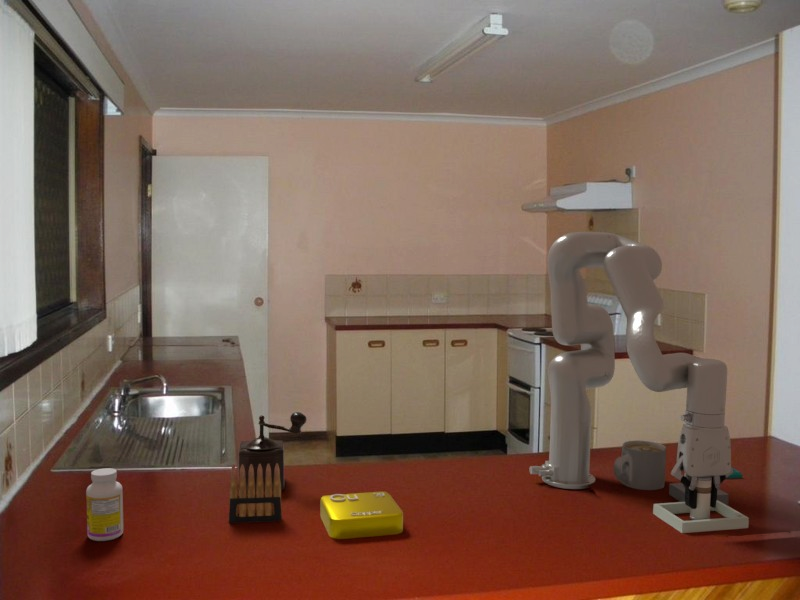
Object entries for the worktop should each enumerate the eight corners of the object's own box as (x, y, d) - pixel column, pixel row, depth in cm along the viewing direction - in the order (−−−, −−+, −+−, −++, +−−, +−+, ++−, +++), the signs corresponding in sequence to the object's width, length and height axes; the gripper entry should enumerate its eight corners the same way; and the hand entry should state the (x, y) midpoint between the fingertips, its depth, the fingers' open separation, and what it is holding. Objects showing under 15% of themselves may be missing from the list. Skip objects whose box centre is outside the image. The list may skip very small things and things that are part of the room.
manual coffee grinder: (237, 494, 185) (237, 416, 183) (239, 478, 196) (239, 404, 194) (306, 491, 187) (307, 414, 185) (304, 476, 198) (305, 403, 196)
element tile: (330, 541, 159) (331, 518, 159) (318, 515, 174) (318, 493, 173) (405, 535, 163) (405, 512, 163) (387, 509, 177) (387, 488, 177)
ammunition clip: (281, 517, 171) (281, 461, 169) (281, 521, 169) (281, 464, 168) (229, 519, 169) (229, 463, 168) (228, 523, 167) (228, 465, 166)
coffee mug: (649, 479, 200) (651, 439, 199) (672, 492, 190) (675, 450, 189) (600, 483, 197) (601, 442, 196) (621, 496, 187) (623, 453, 186)
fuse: (696, 522, 167) (698, 478, 167) (686, 515, 171) (688, 472, 170) (713, 521, 168) (716, 477, 167) (702, 514, 172) (704, 471, 171)
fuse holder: (691, 512, 177) (692, 495, 177) (668, 498, 186) (669, 482, 186) (727, 509, 179) (728, 493, 179) (704, 496, 188) (704, 480, 188)
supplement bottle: (95, 528, 163) (94, 465, 162) (128, 529, 163) (127, 466, 161) (81, 541, 156) (79, 476, 155) (115, 542, 156) (114, 477, 155)
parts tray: (681, 537, 163) (682, 522, 163) (652, 518, 174) (653, 503, 173) (748, 532, 166) (748, 517, 166) (715, 513, 177) (716, 499, 177)
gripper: (678, 425, 162) (674, 515, 164) (752, 422, 166) (747, 509, 168) (658, 416, 170) (654, 502, 171) (729, 413, 173) (724, 497, 175)
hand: (700, 505), depth 170 cm, fingers closed on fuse, 3 cm apart
